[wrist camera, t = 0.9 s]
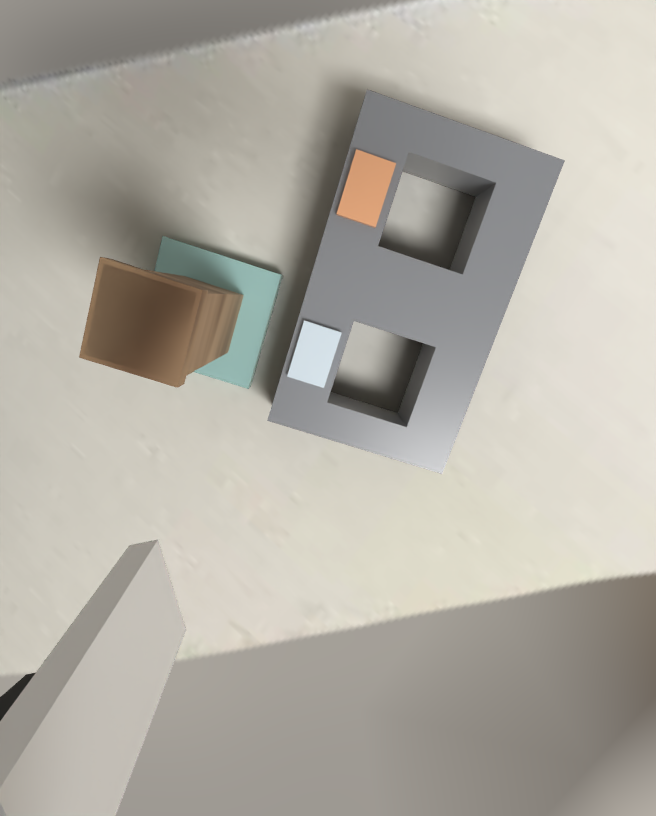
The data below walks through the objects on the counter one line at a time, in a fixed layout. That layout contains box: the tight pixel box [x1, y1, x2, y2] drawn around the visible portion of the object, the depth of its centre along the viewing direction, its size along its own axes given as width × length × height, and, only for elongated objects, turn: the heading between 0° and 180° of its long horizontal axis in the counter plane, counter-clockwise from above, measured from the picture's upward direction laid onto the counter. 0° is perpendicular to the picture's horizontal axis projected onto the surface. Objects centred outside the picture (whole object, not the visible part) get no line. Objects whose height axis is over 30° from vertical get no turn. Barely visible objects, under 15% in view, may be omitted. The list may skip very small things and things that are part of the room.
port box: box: [267, 89, 565, 474], centre depth 31 cm, size 12×20×4 cm, turn 162°
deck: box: [155, 236, 283, 389], centre depth 33 cm, size 8×8×1 cm
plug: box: [79, 257, 244, 388], centre depth 27 cm, size 4×4×12 cm
